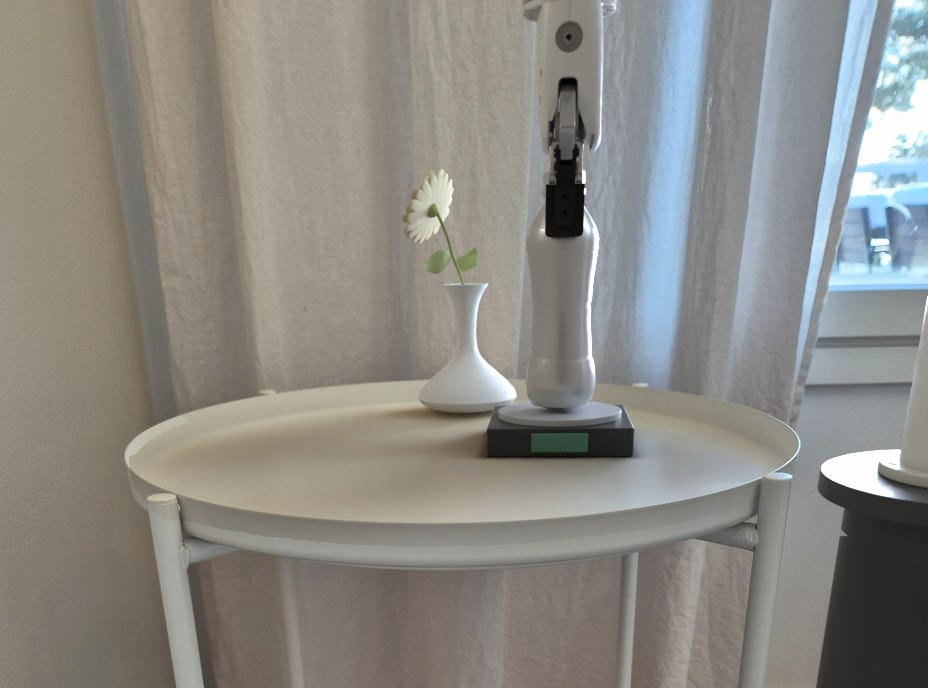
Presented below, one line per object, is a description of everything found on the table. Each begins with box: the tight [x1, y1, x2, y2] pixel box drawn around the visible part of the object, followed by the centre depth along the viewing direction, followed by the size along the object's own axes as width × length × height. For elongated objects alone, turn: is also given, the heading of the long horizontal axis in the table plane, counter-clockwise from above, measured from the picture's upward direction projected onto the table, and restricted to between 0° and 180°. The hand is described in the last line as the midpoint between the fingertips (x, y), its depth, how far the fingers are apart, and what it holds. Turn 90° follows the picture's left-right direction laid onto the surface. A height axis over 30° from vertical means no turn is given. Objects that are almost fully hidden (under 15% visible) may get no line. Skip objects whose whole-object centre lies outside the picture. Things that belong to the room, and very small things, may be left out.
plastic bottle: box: [525, 170, 600, 411], centre depth 80 cm, size 6×7×20 cm
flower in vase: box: [401, 168, 518, 414], centre depth 98 cm, size 13×11×25 cm
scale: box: [486, 400, 635, 458], centre depth 85 cm, size 13×14×3 cm
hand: (563, 235), depth 78 cm, fingers closed on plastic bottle, 6 cm apart
